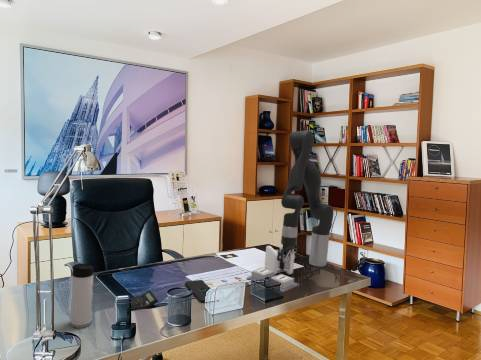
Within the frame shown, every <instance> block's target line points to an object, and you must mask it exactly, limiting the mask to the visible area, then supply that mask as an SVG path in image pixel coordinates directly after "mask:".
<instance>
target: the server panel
mask: <svg viewBox="0 0 481 360" xmlns="http://www.w3.org/2000/svg"><path fill="white" fill-rule="evenodd" d="M266 277H271V279H273V280H276V281H278V282H279V283H281V285H280V291H281V292H282V294H284V293H286V292H288V291H290V290H293V289H294V288H296V287H298V286H299V285H300V284H299V283H297V282H295V277H290V276H289V275H285V274H283V273H279V274H278V275H277V274H274V271H271V270H268V269H267V268H266V267H265V268H264V267H260V268H256V269H254V270H252V271H251V275H250V276H248V277H246V280H247V279H248V280H247V281H250V280H251V281H250V282H253V281H256V280H260V279H264V278H266ZM281 292H280V293H281Z"/></svg>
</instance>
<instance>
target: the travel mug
mask: <svg viewBox="0 0 481 360" xmlns="http://www.w3.org/2000/svg"><path fill="white" fill-rule="evenodd" d="M71 280H72V281H71V309H70V310H71V312H70V315H71V316H70V325H71V326H72V327H73V328H76V329H83V328H86V327H88V326H89V327H90V325H91V324H92V322H93V320H92V319H93V299H94V298H93V295H94V266H93V265H90V264H88V263H76V264H73V265H72V278H71Z"/></svg>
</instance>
